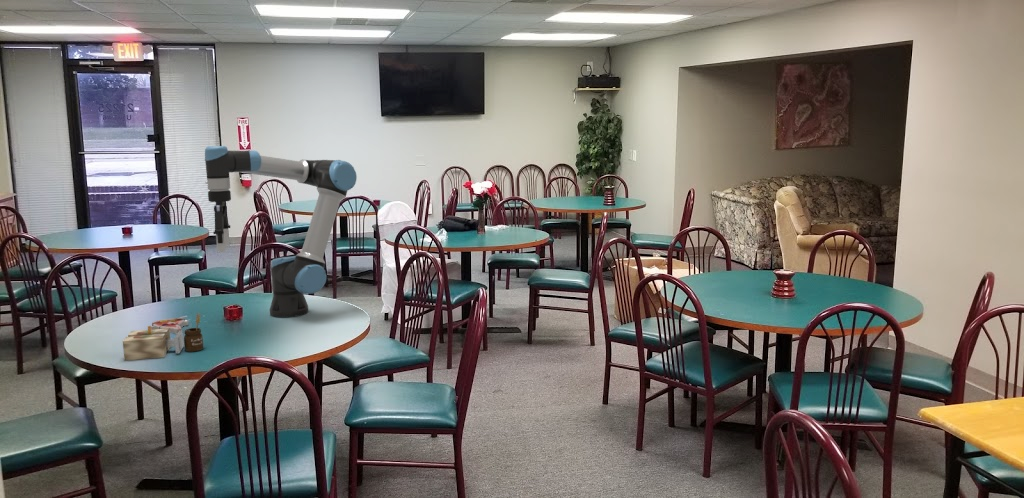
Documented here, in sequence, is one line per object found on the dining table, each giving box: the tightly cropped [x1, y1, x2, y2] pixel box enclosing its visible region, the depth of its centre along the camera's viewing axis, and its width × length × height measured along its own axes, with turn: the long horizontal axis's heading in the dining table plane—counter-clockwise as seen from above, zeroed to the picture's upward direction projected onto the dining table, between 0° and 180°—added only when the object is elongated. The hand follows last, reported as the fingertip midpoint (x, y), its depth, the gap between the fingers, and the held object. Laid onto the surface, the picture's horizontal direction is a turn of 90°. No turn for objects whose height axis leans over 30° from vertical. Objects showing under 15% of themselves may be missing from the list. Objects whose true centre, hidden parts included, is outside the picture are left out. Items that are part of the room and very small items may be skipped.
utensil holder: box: [183, 313, 204, 353], centre depth 263 cm, size 6×6×12 cm
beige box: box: [122, 328, 171, 361], centre depth 260 cm, size 12×13×7 cm
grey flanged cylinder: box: [147, 325, 185, 354], centre depth 261 cm, size 14×9×9 cm, turn 104°
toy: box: [150, 315, 189, 335], centre depth 291 cm, size 15×4×20 cm
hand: (223, 249), depth 277 cm, fingers open, 13 cm apart
